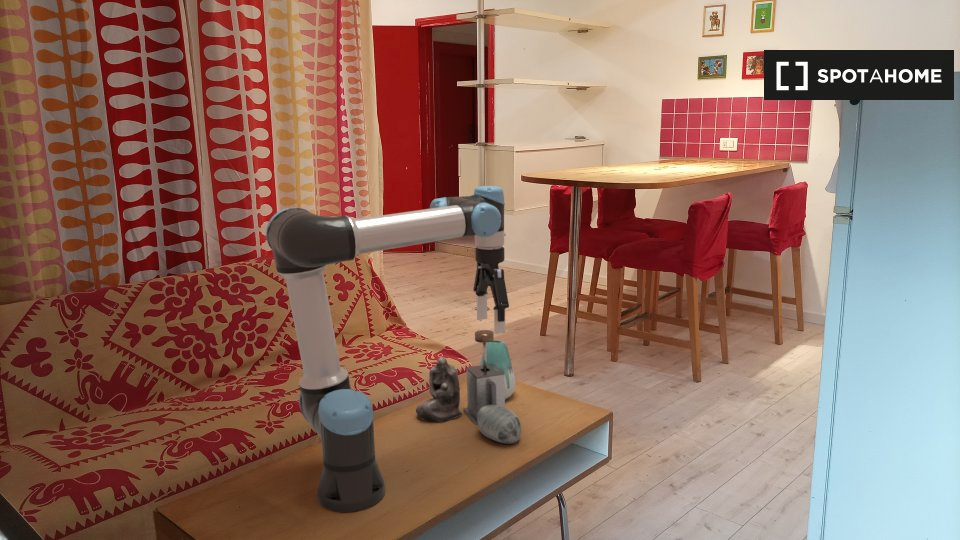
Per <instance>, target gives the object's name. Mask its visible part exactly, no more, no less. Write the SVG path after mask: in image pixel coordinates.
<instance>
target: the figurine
mask: <svg viewBox="0 0 960 540" xmlns="http://www.w3.org/2000/svg"><path fill="white" fill-rule="evenodd" d="M428 374H429V376H428V377H429V379H428V380H429V381H428V382H429V394H430V396H431V398H427V399H426V400H423V401H422V402H420V403H419V404H418V405H417V406H416V408H415V413H416V416H417V418H418V419H420V420H423V421H425V422H429V423H431V422H432V423H433V422H434V423H444V422H447V421H449V420H453V419H456V418H459V417H460V416H461V415H463V411H462V410H461V409H459V408H460V402H461V396H460V395H461V394H460V393H461V389H460V387H461V386H460V380H459V376H458V375H459V373H458V369H456V367H455V366H453V365H451V364H449V363H448V361H447V358H446V357H444V356H440V357H438V359H437V361H435V364H434V365H433V366H432V367H431V368H430V370H429V373H428Z"/></svg>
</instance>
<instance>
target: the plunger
mask: <svg viewBox="0 0 960 540" xmlns="http://www.w3.org/2000/svg"><path fill="white" fill-rule="evenodd" d="M494 335H495V333H494V331H493V330H489V329H480V330H477V331H475V332H474V341H475V342H476V343H481V344H482V354H483V371H482V372H486V371H487V354H486V343H487V342H491V341H493V340H495V339H494Z"/></svg>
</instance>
